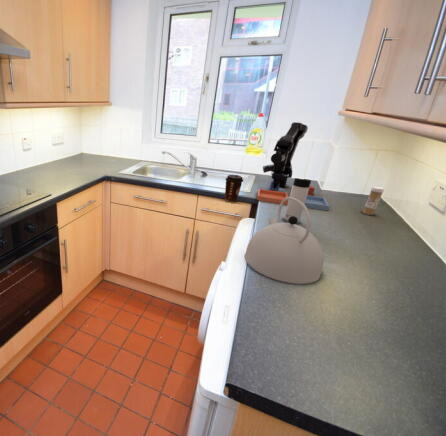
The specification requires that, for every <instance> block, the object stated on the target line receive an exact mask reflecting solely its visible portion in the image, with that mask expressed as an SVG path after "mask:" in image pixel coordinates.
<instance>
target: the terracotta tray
mask: <svg viewBox="0 0 446 436" xmlns="http://www.w3.org/2000/svg"><path fill="white" fill-rule="evenodd" d="M287 197H289V195H288V192H283V191H279V190H271V189H263V188H258V191H257V197H256V201H258V202H265V203H266V202H267V203H272V204H277V205H280V204H281V202H282V201H283V200H284V199H285V198H287ZM288 201H289V200H286V201H285V202H284V204H283V205H284V206H285V205H286V206H287V205H288Z"/></svg>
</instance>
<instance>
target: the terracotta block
mask: <svg viewBox="0 0 446 436" xmlns="http://www.w3.org/2000/svg"><path fill="white" fill-rule="evenodd" d="M315 189H316V188H315V186H313V185H310V187H309V191H308V194H307V195H309V196H314V193H315Z"/></svg>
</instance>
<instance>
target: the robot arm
mask: <svg viewBox="0 0 446 436" xmlns="http://www.w3.org/2000/svg"><path fill="white" fill-rule="evenodd" d="M308 128H309V126H308V125H307V124H304V123H302V122H295V121H294V122H292V123H291V124H290V127H289V129H288V130H287V132H286V133H285V134H284V135H282V136H280V138H279V139H278V140H277V142H276V144H275V146H274V148H273V152H274V153H273V154H272V155H271V156H270V161H271V163H272V164H267V165H263V166H262V172H263V173H269V172H271V176H270V178H271V180H273V181H274V182H273V188H276V187H277V186H278V184H279V183H280V185H279V188H287V182H288V179H291V178H292V177H293V165H292V161H293V157H294V155H295V152H296V150H297V147H298V145H299V143H300V140H302V139H303V138H304V137H305V135H306V133H307V132H308Z"/></svg>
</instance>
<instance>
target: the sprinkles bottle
mask: <svg viewBox="0 0 446 436" xmlns="http://www.w3.org/2000/svg"><path fill="white" fill-rule="evenodd" d="M384 191H385V188H384V187H382V186H378V185H377V186H371V189H370V193H369V195H368V197H367V200H366V202H365V205H364V208H363V211H362V213H363V214H364V215H367V216H374V215H375V212H376V210H377V207H378V206H379V203H380V200H381V197H382V195H383V193H384Z"/></svg>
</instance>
